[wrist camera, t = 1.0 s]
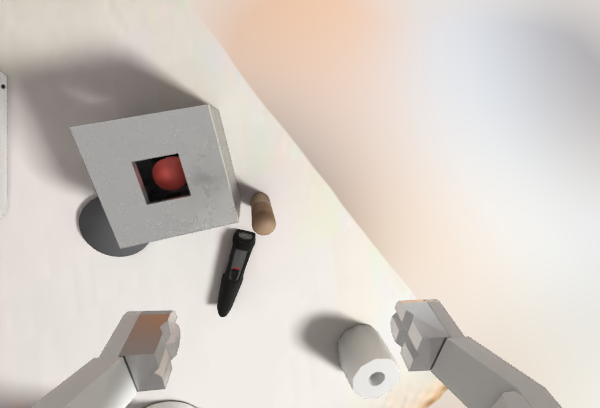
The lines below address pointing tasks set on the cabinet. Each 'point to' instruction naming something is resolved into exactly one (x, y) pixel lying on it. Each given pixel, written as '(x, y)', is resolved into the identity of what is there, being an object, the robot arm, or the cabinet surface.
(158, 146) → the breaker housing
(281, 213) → the cabinet surface
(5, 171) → the stereo radio cassette player
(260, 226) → the walnut dowel
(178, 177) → the button
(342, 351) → the toilet tissue
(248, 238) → the electric trimmer
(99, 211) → the rubber coaster
